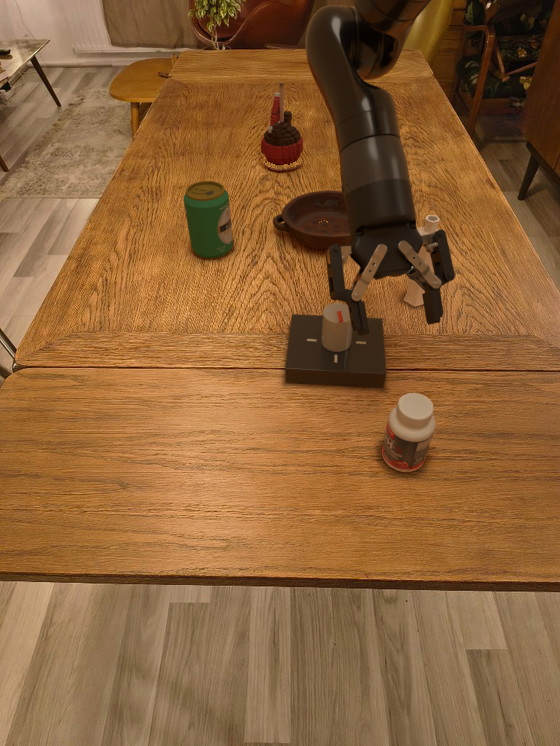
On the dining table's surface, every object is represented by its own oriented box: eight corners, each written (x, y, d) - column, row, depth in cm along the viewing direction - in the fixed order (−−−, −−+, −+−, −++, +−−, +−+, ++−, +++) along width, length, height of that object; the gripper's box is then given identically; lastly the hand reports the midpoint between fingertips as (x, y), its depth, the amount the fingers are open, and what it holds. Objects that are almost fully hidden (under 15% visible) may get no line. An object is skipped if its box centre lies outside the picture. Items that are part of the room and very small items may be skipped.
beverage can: (222, 264, 95) (216, 203, 87) (184, 256, 97) (174, 196, 89) (240, 242, 100) (235, 183, 92) (203, 235, 102) (195, 176, 94)
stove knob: (319, 332, 77) (320, 301, 73) (348, 330, 77) (351, 300, 73) (323, 353, 74) (325, 322, 70) (353, 351, 74) (357, 319, 70)
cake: (294, 176, 120) (294, 92, 107) (256, 171, 122) (252, 88, 109) (307, 158, 127) (309, 77, 114) (271, 153, 129) (269, 73, 116)
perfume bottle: (397, 292, 88) (412, 211, 78) (422, 290, 89) (440, 209, 78) (405, 308, 85) (421, 227, 74) (430, 306, 85) (450, 225, 75)
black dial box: (380, 332, 81) (382, 317, 79) (383, 388, 73) (386, 373, 71) (291, 328, 82) (291, 312, 80) (285, 383, 74) (285, 367, 72)
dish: (278, 209, 109) (278, 187, 105) (384, 214, 107) (387, 191, 103) (267, 255, 97) (266, 231, 93) (385, 261, 95) (389, 237, 91)
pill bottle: (372, 455, 65) (382, 404, 58) (398, 431, 67) (411, 380, 60) (407, 481, 62) (421, 432, 55) (433, 456, 65) (450, 405, 58)
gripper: (323, 184, 54) (349, 337, 54) (449, 168, 56) (473, 316, 56) (309, 207, 61) (331, 341, 62) (421, 192, 63) (442, 322, 64)
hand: (399, 329), depth 59 cm, fingers open, 8 cm apart
